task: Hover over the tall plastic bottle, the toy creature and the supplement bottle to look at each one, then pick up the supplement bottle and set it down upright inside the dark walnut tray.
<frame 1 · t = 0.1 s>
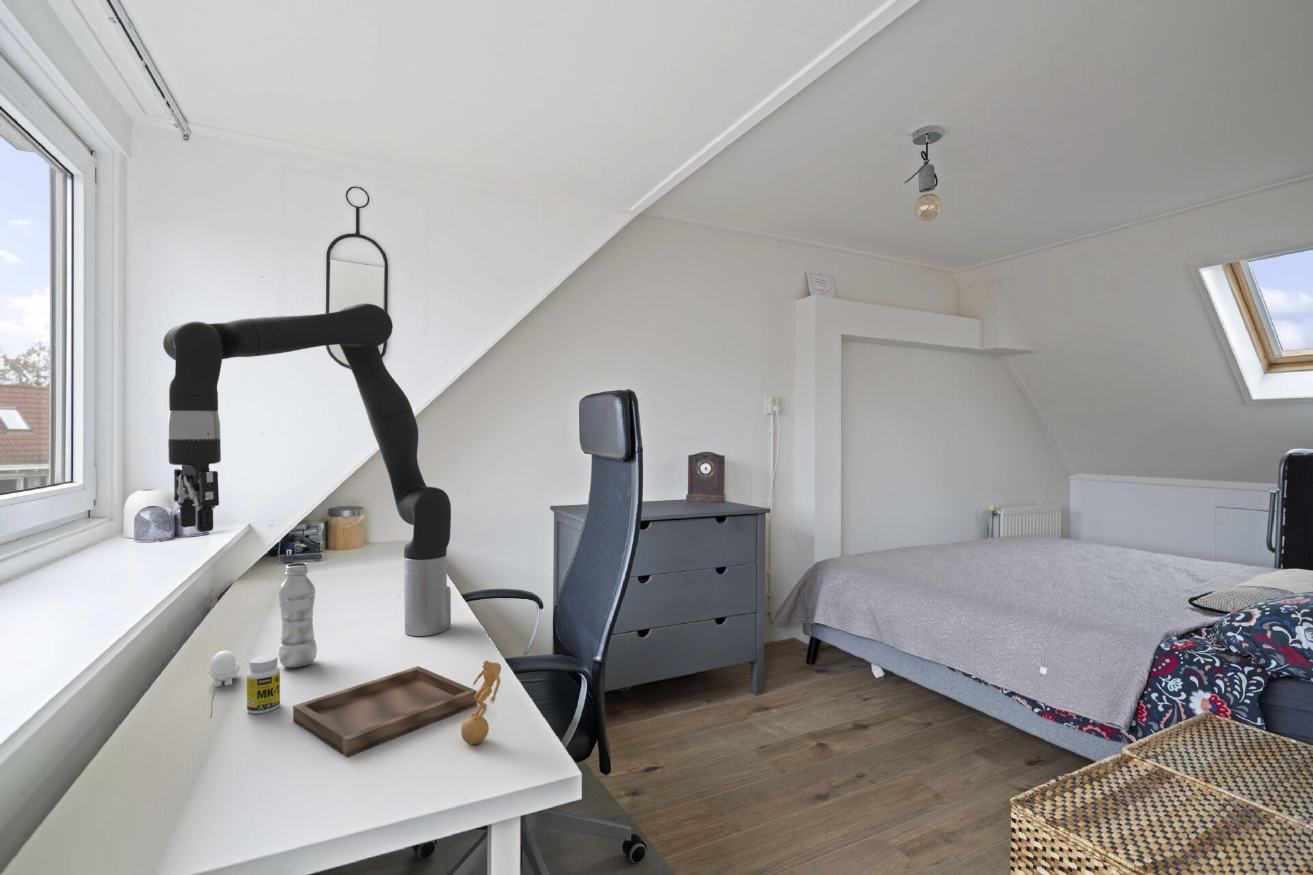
hand: (196, 528, 115), 29 cm above the table, tool pointing down, fingers open, 8 cm apart
toy creature: (225, 683, 121), on the table
walnut tray: (387, 713, 107), on the table
figurine: (481, 742, 98), on the table
supplement bottle: (263, 709, 109), on the table
plastic bottle: (298, 666, 129), on the table
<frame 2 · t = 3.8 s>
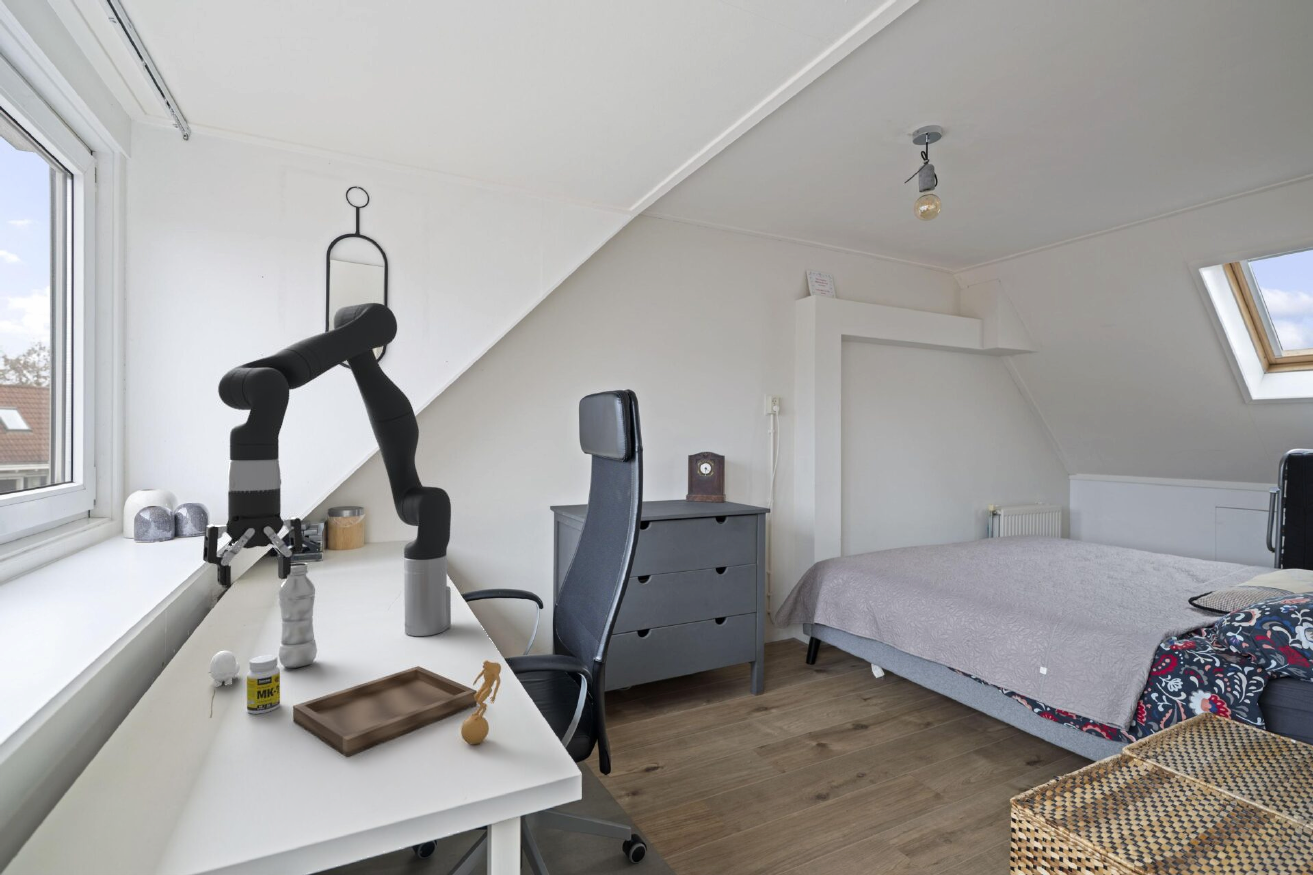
hand: (255, 582, 110), 21 cm above the table, tool pointing down, fingers open, 8 cm apart
nothing on the table moved.
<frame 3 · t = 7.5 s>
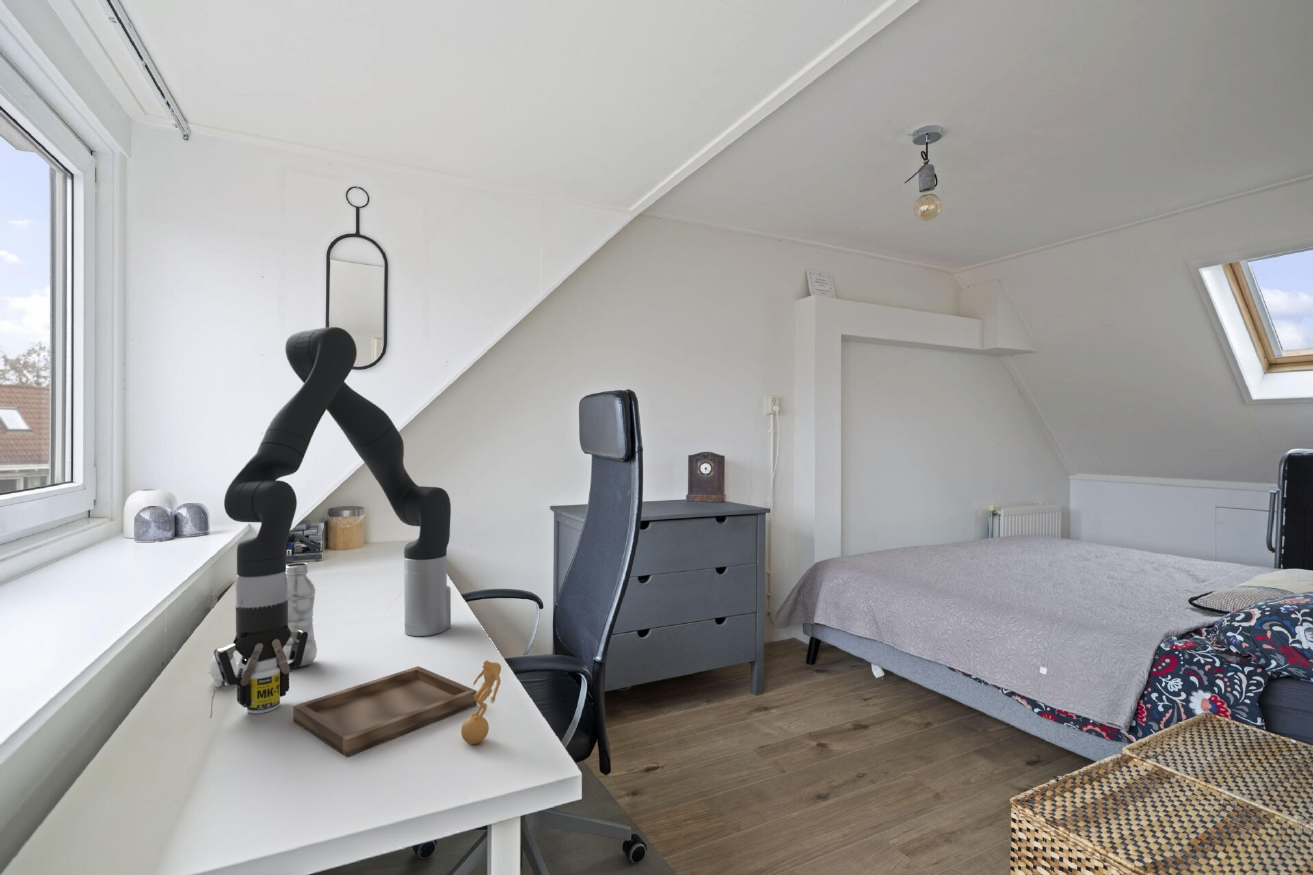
hand: (263, 699, 109), 1 cm above the table, tool pointing down, fingers closed on supplement bottle, 4 cm apart
supplement bottle: (263, 709, 109), on the table, touching gripper
everything else where it was.
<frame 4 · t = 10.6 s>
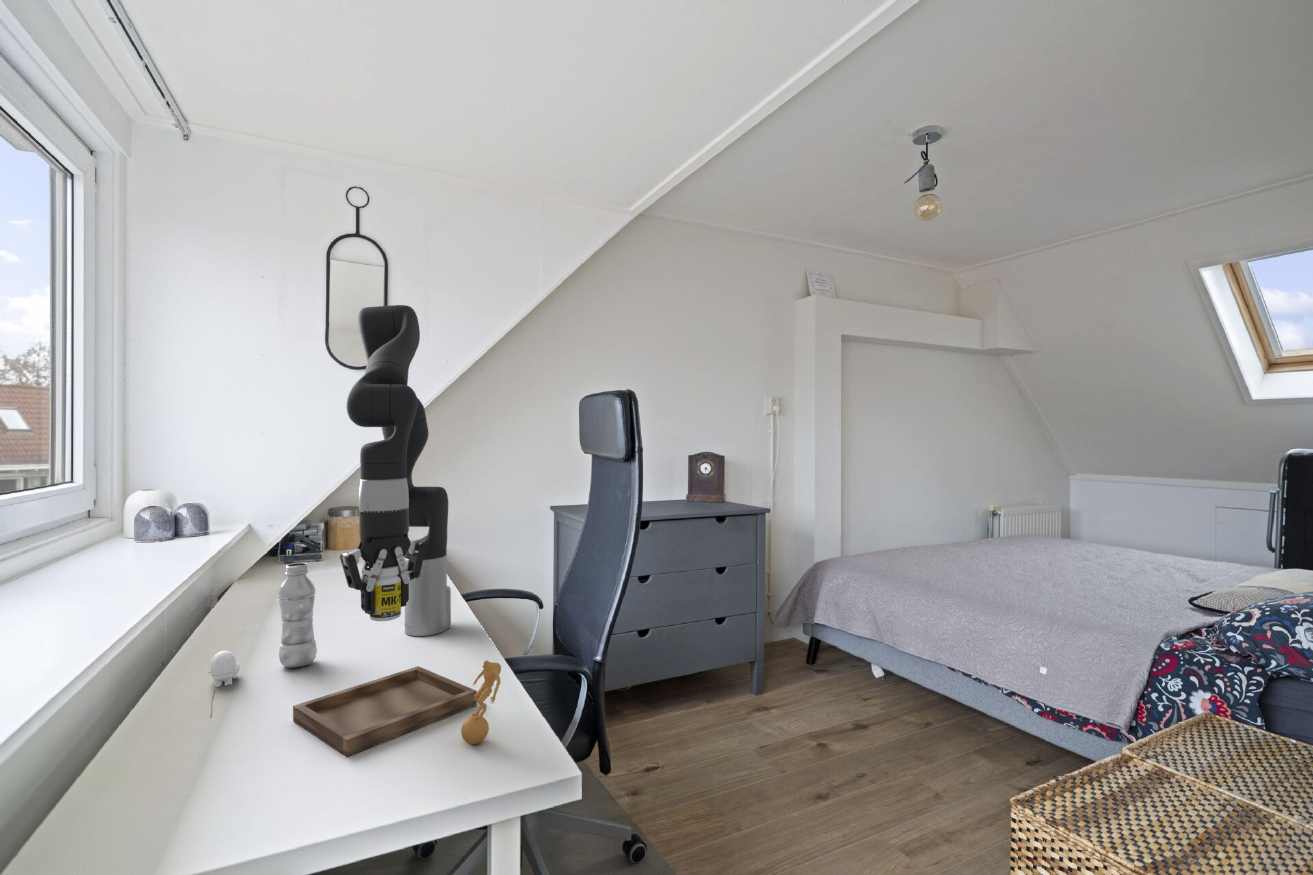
hand: (385, 608, 107), 17 cm above the table, tool pointing down, fingers closed on supplement bottle, 4 cm apart
supplement bottle: (385, 618, 107), point 16 cm above the table, touching gripper
everything else where it was.
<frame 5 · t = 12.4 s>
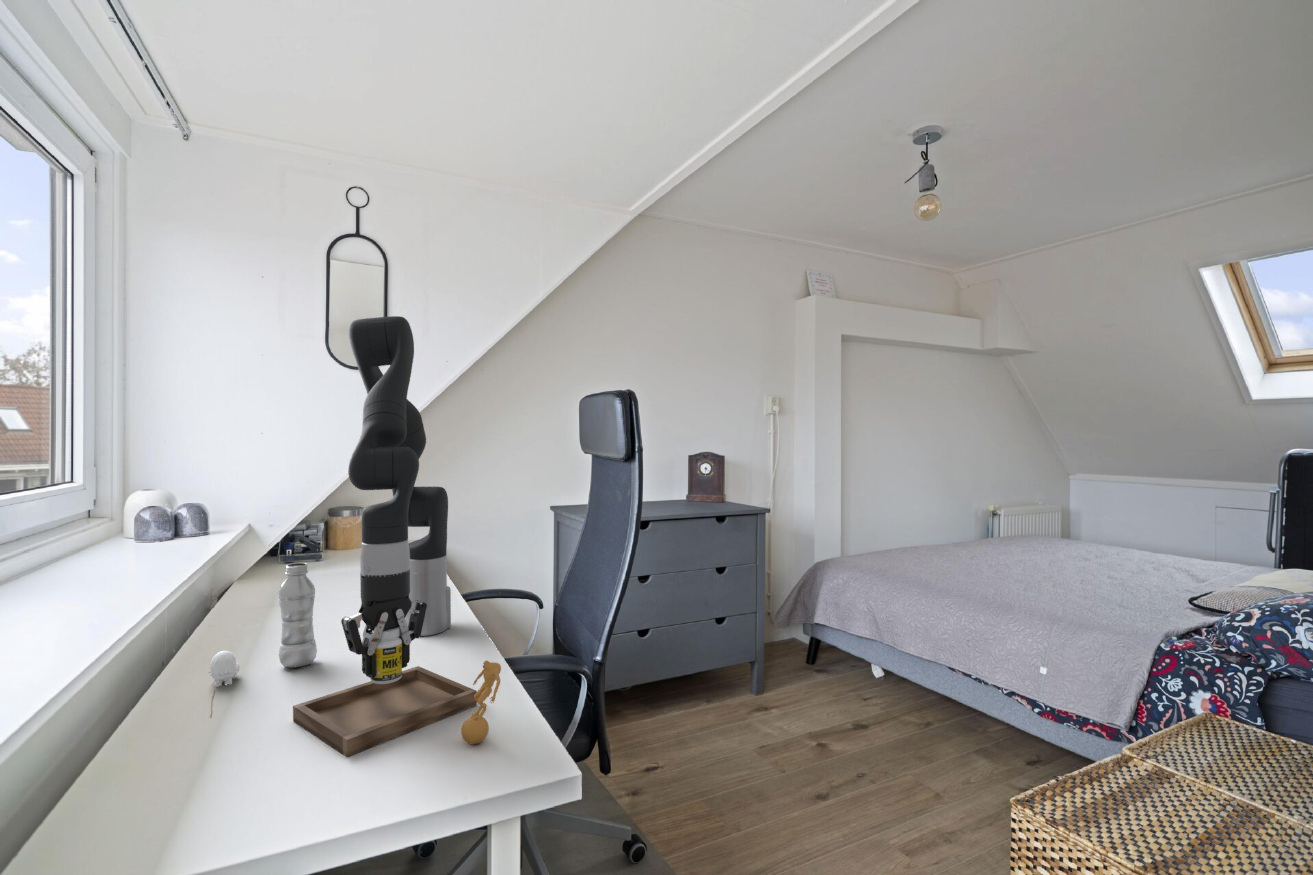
hand: (386, 670, 107), 7 cm above the table, tool pointing down, fingers closed on supplement bottle, 4 cm apart
supplement bottle: (386, 680, 107), point 5 cm above the table, touching gripper
everything else where it was.
when the fingers open (4 cm above the table, at t = 13.9 s): supplement bottle drops 2 cm, resting on walnut tray.
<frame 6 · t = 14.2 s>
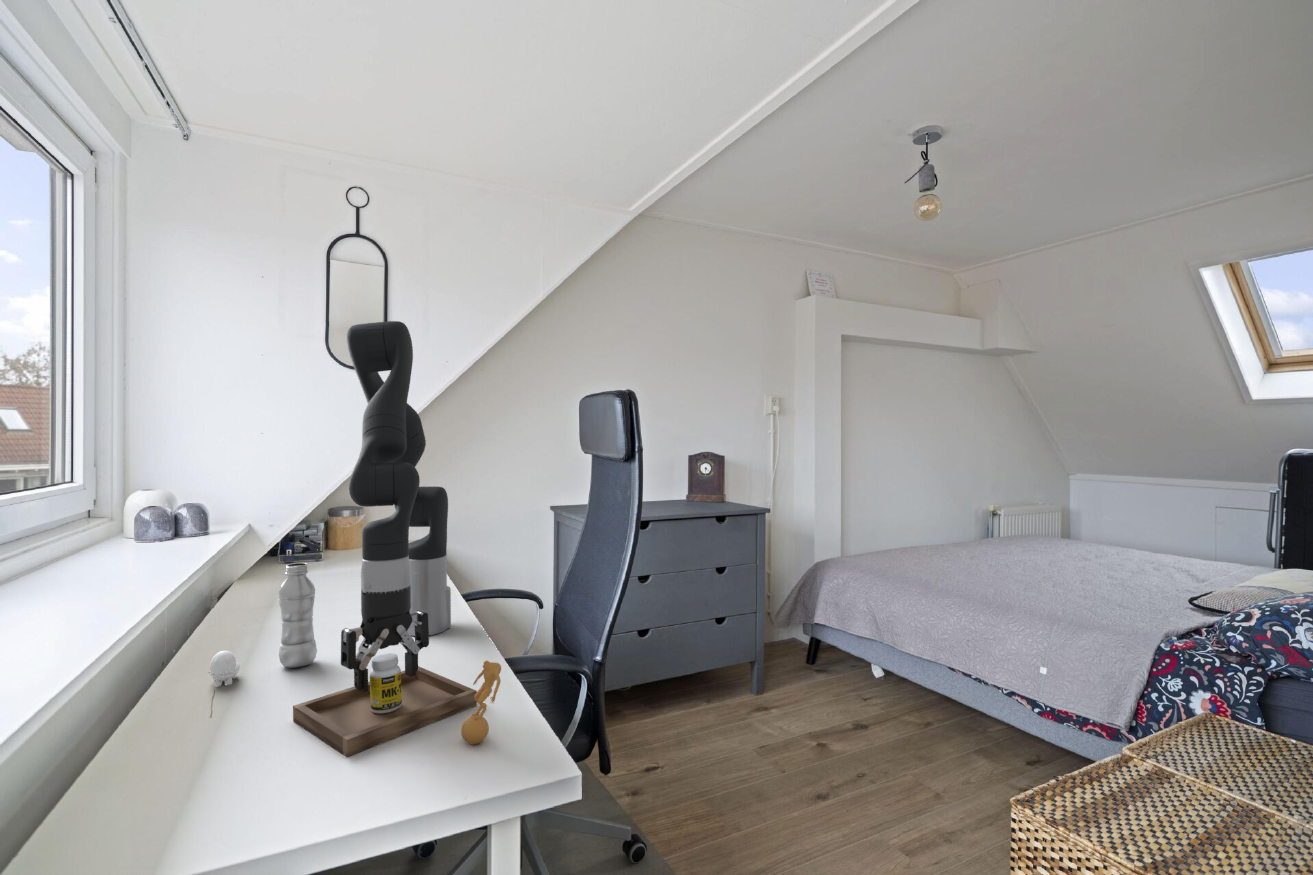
hand: (387, 682, 107), 5 cm above the table, tool pointing down, fingers open, 8 cm apart
supplement bottle: (386, 709, 107), point 1 cm above the table, touching walnut tray
everything else where it was.
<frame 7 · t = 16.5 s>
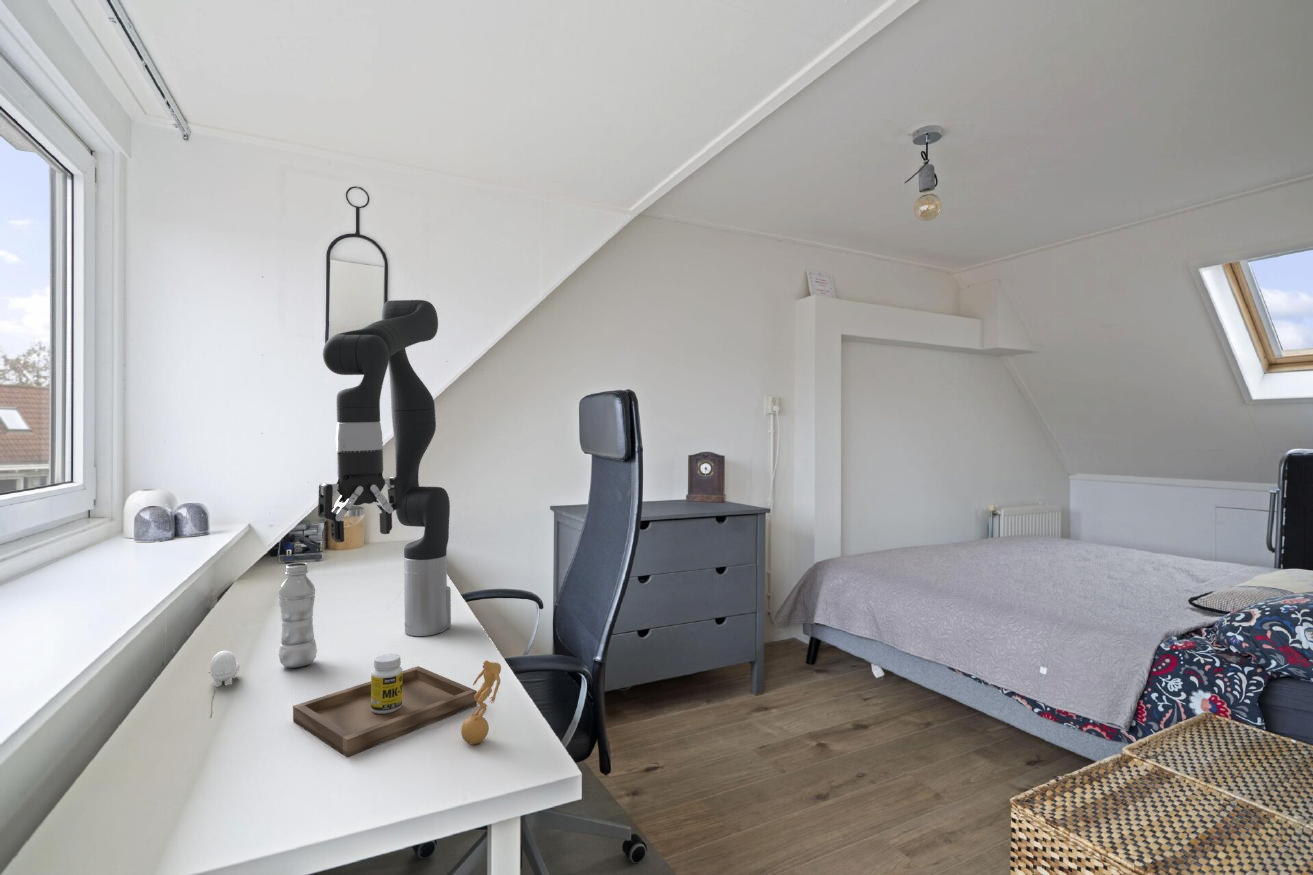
hand: (362, 537, 117), 27 cm above the table, tool pointing down, fingers open, 8 cm apart
nothing on the table moved.
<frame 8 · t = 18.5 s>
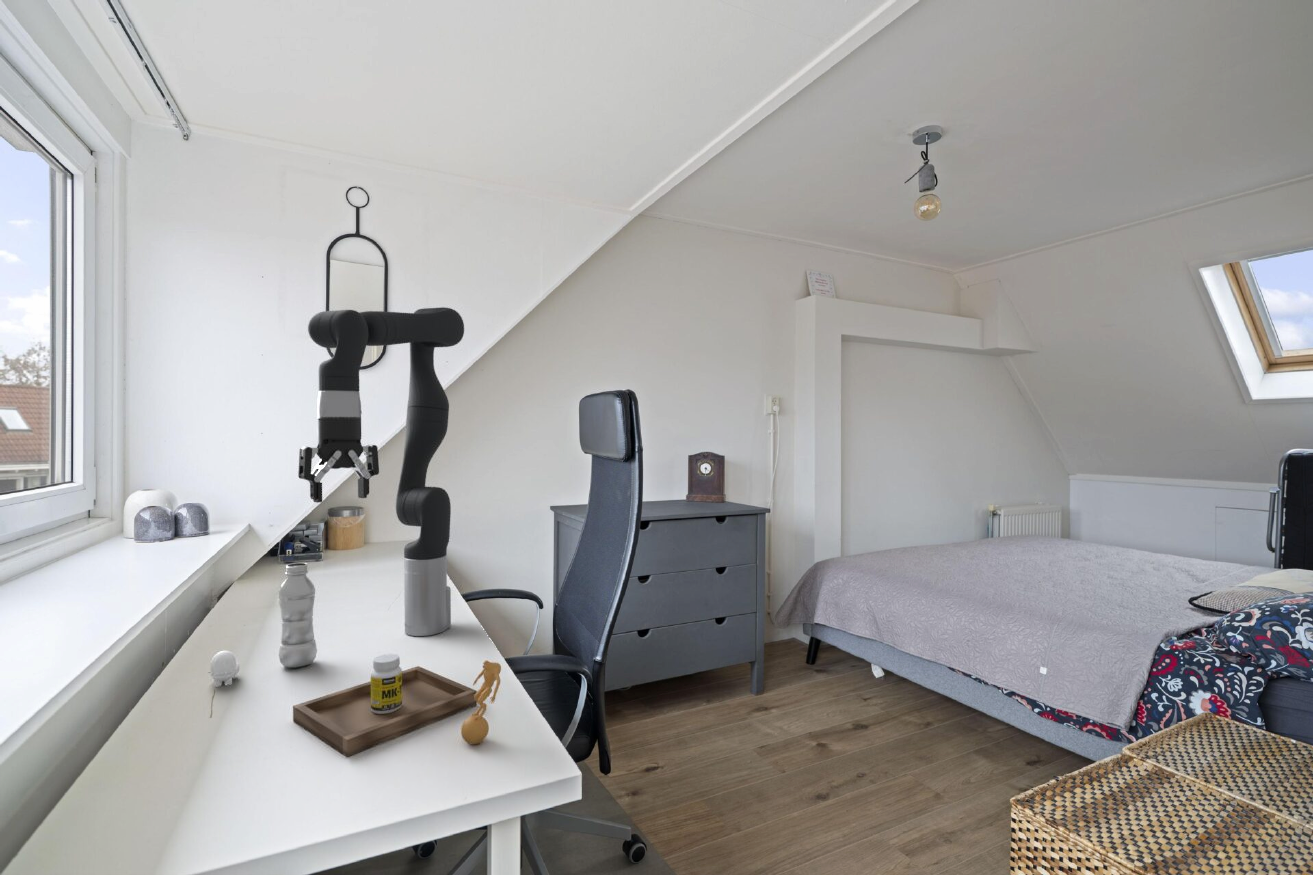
hand: (340, 500, 125), 33 cm above the table, tool pointing down, fingers open, 8 cm apart
nothing on the table moved.
at the end: supplement bottle inside the target area on the walnut tray (0.1 cm from its centre), point 0.6 cm above the walnut tray's base; supplement bottle tilted 1°; the gripper is holding nothing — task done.
